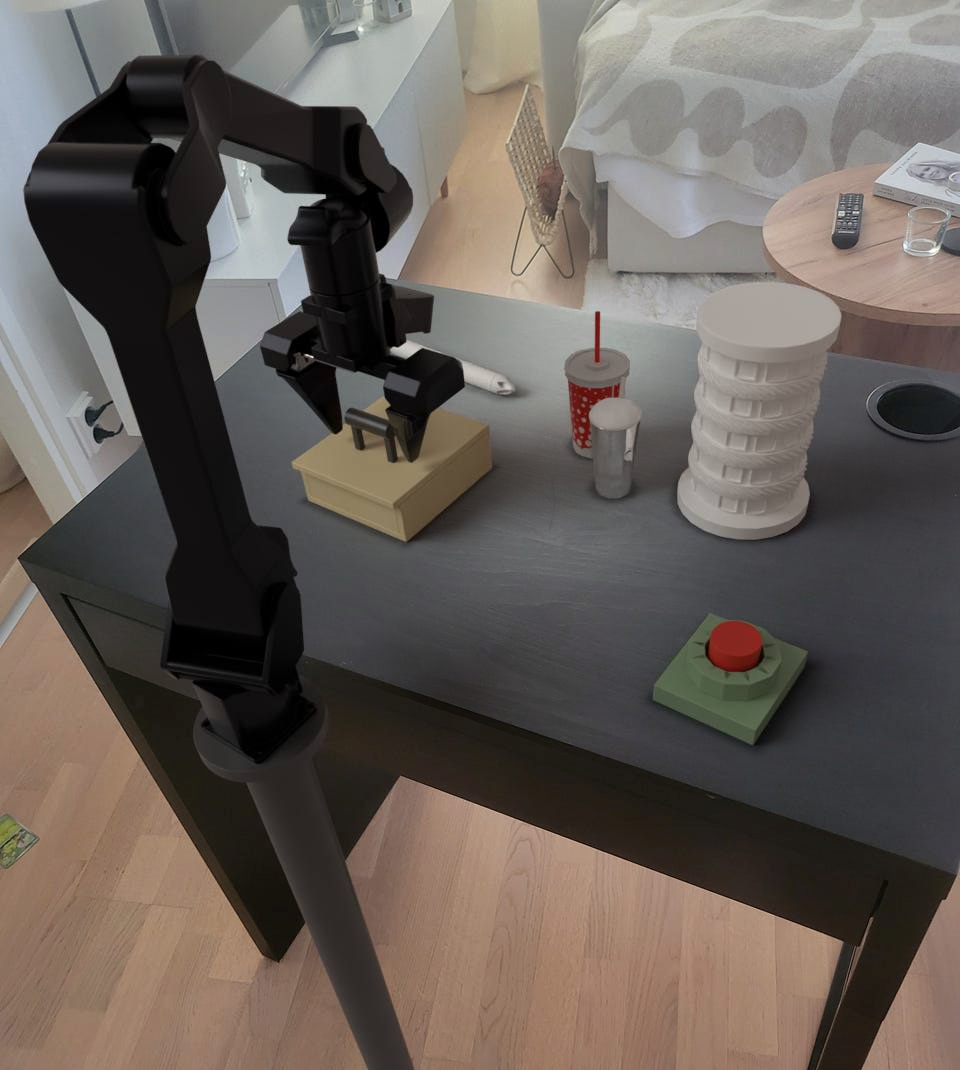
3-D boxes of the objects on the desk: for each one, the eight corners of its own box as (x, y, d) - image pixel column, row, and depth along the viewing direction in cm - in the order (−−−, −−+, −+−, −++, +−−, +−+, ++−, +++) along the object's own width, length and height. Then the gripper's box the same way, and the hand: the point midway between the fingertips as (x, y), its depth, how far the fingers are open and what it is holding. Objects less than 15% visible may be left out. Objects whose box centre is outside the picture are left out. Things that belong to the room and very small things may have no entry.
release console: (753, 745, 67) (759, 713, 64) (652, 700, 71) (654, 667, 68) (804, 666, 72) (812, 634, 69) (708, 627, 75) (712, 595, 73)
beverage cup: (607, 422, 97) (609, 290, 87) (639, 451, 93) (645, 316, 83) (554, 440, 96) (551, 308, 86) (584, 470, 92) (584, 335, 82)
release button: (745, 680, 67) (748, 663, 66) (699, 660, 69) (701, 643, 68) (767, 649, 69) (771, 632, 68) (722, 631, 71) (724, 613, 69)
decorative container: (835, 507, 85) (880, 317, 72) (735, 557, 81) (764, 366, 68) (746, 449, 92) (772, 267, 79) (650, 492, 88) (662, 308, 76)
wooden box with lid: (394, 509, 83) (385, 463, 79) (292, 468, 88) (281, 423, 85) (489, 430, 90) (485, 385, 87) (390, 397, 96) (383, 353, 93)
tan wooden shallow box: (406, 542, 86) (399, 505, 83) (308, 500, 92) (298, 464, 89) (492, 467, 93) (489, 431, 90) (396, 433, 99) (390, 397, 96)
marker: (522, 394, 102) (521, 375, 101) (509, 403, 101) (508, 383, 100) (403, 350, 111) (400, 331, 110) (391, 357, 110) (388, 338, 109)
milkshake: (644, 473, 91) (649, 379, 83) (631, 506, 87) (635, 411, 80) (597, 467, 92) (598, 374, 85) (583, 499, 88) (583, 405, 81)
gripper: (497, 263, 76) (508, 431, 87) (327, 223, 85) (357, 380, 96) (409, 322, 70) (433, 494, 81) (236, 272, 79) (279, 434, 90)
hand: (374, 445), depth 87 cm, fingers open, 9 cm apart
